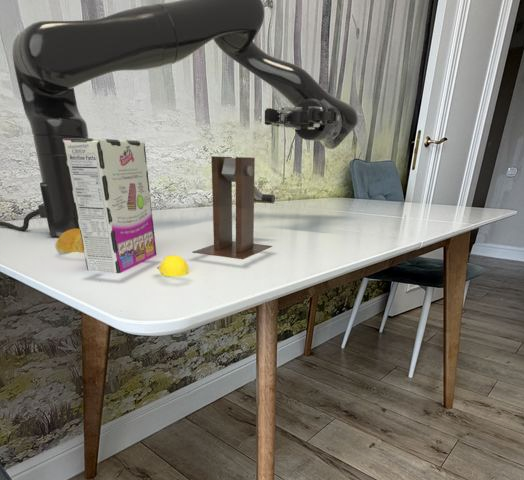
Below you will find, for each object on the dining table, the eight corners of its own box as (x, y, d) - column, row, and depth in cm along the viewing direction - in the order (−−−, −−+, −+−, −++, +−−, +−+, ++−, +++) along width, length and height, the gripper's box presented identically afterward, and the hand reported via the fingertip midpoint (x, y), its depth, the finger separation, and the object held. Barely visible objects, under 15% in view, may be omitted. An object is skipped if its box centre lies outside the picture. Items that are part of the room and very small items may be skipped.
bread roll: (104, 261, 60) (100, 234, 58) (49, 258, 60) (43, 231, 59) (128, 250, 67) (125, 226, 65) (78, 247, 68) (74, 223, 66)
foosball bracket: (226, 247, 71) (225, 156, 65) (272, 253, 68) (275, 158, 61) (192, 259, 62) (186, 155, 56) (242, 267, 59) (243, 157, 52)
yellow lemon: (178, 286, 49) (164, 260, 47) (155, 289, 53) (141, 265, 52) (197, 274, 51) (184, 248, 49) (174, 277, 55) (161, 254, 54)
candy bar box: (128, 260, 61) (113, 140, 54) (158, 262, 60) (147, 141, 53) (85, 279, 51) (59, 136, 44) (120, 282, 50) (100, 136, 43)
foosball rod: (248, 205, 71) (251, 192, 71) (273, 207, 69) (276, 193, 69) (213, 173, 59) (216, 157, 59) (242, 174, 57) (246, 158, 57)
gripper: (286, 101, 86) (254, 91, 73) (350, 99, 81) (327, 88, 68) (285, 140, 90) (253, 137, 77) (346, 141, 84) (323, 137, 71)
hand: (288, 114), depth 72 cm, fingers open, 8 cm apart
